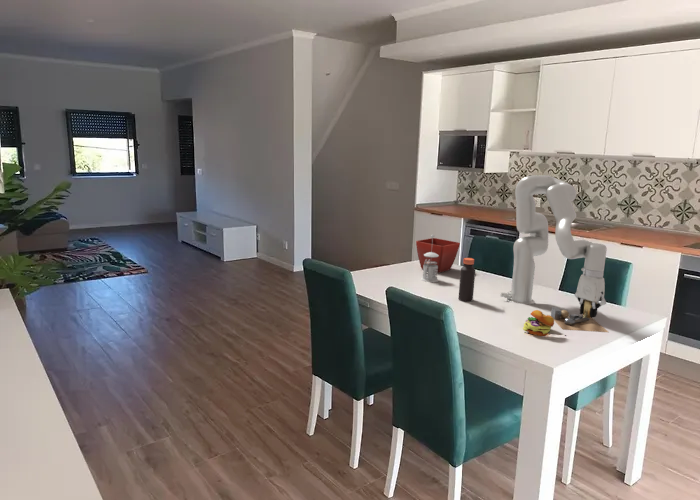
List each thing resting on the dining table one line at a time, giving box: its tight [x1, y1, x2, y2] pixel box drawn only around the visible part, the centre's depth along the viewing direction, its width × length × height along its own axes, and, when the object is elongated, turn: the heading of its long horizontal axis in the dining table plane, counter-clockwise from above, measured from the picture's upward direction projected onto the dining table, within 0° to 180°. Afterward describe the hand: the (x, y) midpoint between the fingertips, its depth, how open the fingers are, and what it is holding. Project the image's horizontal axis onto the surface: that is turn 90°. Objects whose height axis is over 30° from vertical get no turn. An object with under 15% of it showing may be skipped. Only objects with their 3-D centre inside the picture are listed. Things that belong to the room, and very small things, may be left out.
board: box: [554, 316, 609, 333], centre depth 211 cm, size 18×17×1 cm
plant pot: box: [415, 237, 461, 274], centre depth 301 cm, size 19×19×17 cm
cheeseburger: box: [522, 309, 555, 337], centre depth 202 cm, size 10×11×10 cm
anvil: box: [550, 306, 562, 320], centre depth 217 cm, size 2×5×4 cm, turn 175°
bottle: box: [458, 257, 476, 303], centre depth 241 cm, size 7×7×20 cm
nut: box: [561, 309, 570, 319], centre depth 217 cm, size 4×4×4 cm
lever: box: [564, 300, 593, 325], centre depth 212 cm, size 15×5×9 cm, turn 118°
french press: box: [420, 234, 439, 283], centre depth 275 cm, size 10×12×25 cm
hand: (587, 314), depth 214 cm, fingers closed on lever, 4 cm apart
